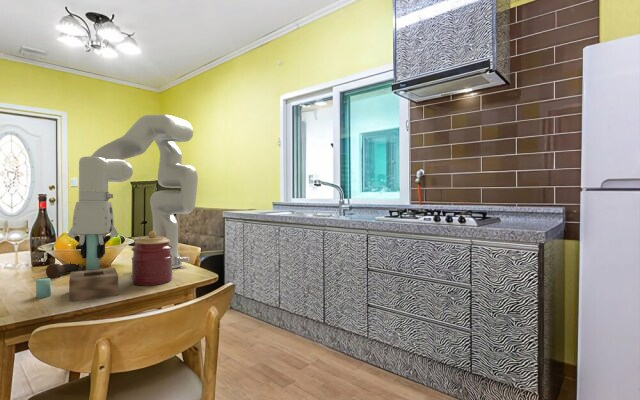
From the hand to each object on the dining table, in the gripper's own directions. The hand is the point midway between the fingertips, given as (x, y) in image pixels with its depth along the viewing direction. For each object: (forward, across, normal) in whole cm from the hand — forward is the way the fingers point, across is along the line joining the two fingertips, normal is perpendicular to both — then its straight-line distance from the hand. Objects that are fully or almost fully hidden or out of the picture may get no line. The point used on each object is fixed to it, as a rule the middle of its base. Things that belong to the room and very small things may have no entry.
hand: (93, 256), depth 107 cm
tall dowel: (+4, 0, 0) cm, 4 cm away
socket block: (+11, 0, 0) cm, 11 cm away
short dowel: (+11, +13, +1) cm, 17 cm away
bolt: (+11, +18, -30) cm, 37 cm away
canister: (+11, -14, -12) cm, 22 cm away
